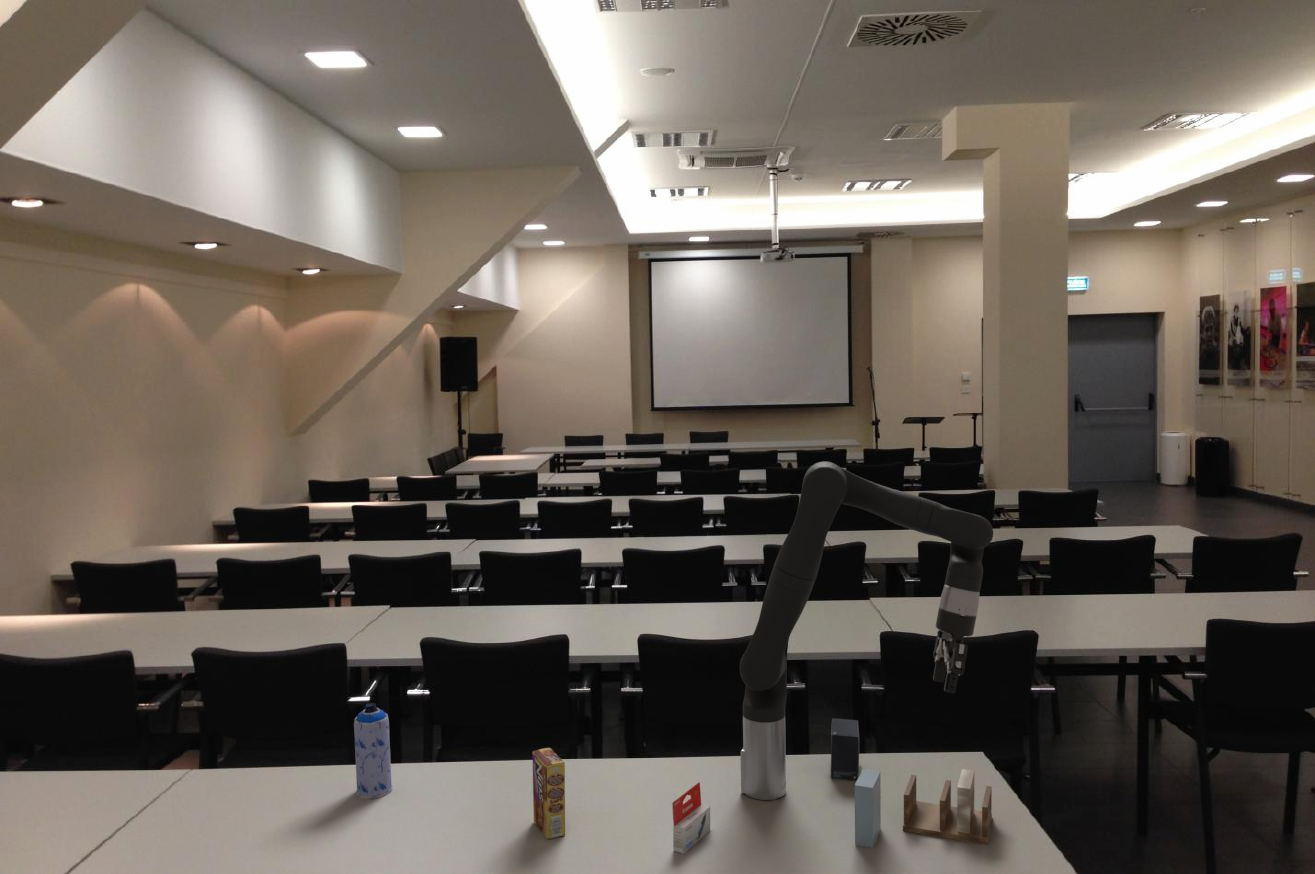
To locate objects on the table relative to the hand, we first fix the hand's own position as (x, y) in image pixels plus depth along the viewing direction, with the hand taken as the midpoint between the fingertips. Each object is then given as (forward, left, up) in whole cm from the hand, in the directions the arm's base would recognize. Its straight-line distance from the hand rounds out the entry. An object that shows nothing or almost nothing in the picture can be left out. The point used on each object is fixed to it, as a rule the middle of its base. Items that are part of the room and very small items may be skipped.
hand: (943, 686), depth 196 cm
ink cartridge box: (-45, -30, -27) cm, 60 cm away
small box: (-24, +13, -27) cm, 38 cm away
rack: (+1, -5, -27) cm, 27 cm away
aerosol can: (-120, -35, -27) cm, 127 cm away
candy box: (-74, -36, -27) cm, 86 cm away
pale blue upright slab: (-13, -16, -27) cm, 34 cm away
